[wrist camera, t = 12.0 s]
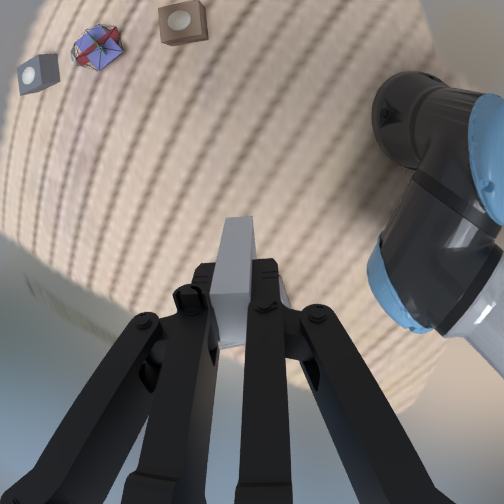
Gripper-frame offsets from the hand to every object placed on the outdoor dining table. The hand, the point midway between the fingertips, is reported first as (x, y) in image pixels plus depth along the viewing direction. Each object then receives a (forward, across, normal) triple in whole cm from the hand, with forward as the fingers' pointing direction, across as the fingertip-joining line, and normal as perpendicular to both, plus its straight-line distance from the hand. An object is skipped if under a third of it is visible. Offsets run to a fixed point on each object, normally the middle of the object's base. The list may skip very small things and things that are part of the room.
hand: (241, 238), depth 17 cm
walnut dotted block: (+27, +7, -18) cm, 33 cm away
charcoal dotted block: (+27, +31, -18) cm, 45 cm away
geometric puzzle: (+27, +19, -18) cm, 37 cm away
